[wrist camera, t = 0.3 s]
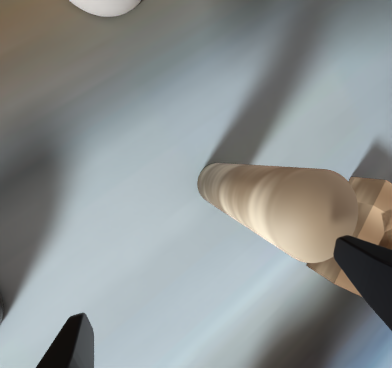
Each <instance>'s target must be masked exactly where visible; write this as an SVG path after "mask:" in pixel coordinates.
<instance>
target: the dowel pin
mask: <svg viewBox="0 0 392 368" xmlns="http://www.w3.org/2000/svg"><path fill="white" fill-rule="evenodd" d="M197 185H198V190H199V193H200V195H201V196H202V197H203V198H204V199H205V200H206V201H208V202H209V203H211V204H212V205H214V206H215V207H217V208H218V209H220V210H221V211H223V212H224V213H226V214H227V215H229V216H230V217H232V218H233V219H235V220H236V221H238V222H240V223H241V224H243V225H244V226H246V227H247V228H249V229H250V230H252V231H253V232H255V233H256V234H258V235H259V236H261V237H262V238H264V239H265V240H267V241H268V242H270V243H272V244H273V245H275V246H276V247H278V248H279V249H281V250H282V251H284V252H285V253H287V254H288V255H290V256H291V257H293V258H295V259H296V260H299V261H301V262H306V263H318V262H323V261H326V260H328V259H330V258H332V257H334V256H333V252H334V247H335V242H336V239H337V238H338V237H341V236H345V235H350V236H352V235H353V233H354V231H355V228H356V225H357V220H358V202H357V198H356V194H355V192H354V190H353V188H352V186H351V185H350V183H349V182H348V181H347V180H346V179H345V178H344V177H343V176H341V175H340V174H338V173H336V172H334V171H331V170H326V169H313V168H296V167H279V166H263V165H246V164H230V163H213V164H210V165H208V166H206V167H205V168H204V169H203V170H202V171H201V173H200V175H199V177H198V182H197Z"/></svg>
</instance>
